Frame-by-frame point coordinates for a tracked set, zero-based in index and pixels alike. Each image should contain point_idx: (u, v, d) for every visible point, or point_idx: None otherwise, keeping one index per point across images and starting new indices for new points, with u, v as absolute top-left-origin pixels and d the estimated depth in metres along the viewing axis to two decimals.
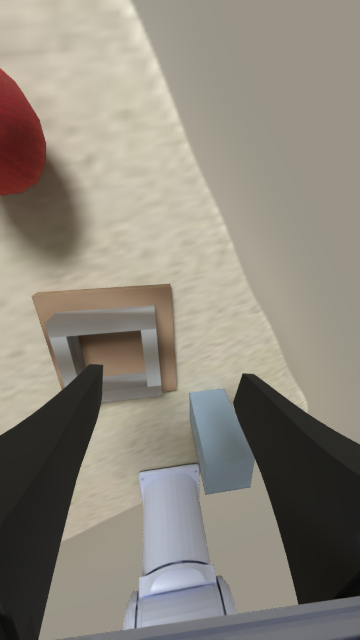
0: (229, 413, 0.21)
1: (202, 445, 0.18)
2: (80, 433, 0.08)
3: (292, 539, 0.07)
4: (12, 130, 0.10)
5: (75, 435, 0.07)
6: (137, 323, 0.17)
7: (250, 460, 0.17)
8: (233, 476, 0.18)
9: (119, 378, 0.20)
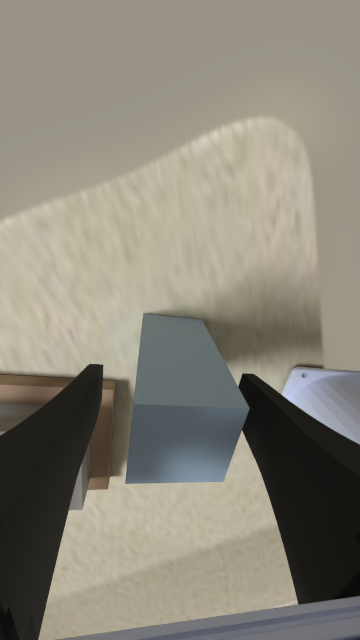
0: None
1: None
2: (80, 433, 0.08)
3: (292, 539, 0.07)
4: None
5: (75, 435, 0.07)
6: None
7: (142, 412, 0.07)
8: (187, 441, 0.08)
9: None
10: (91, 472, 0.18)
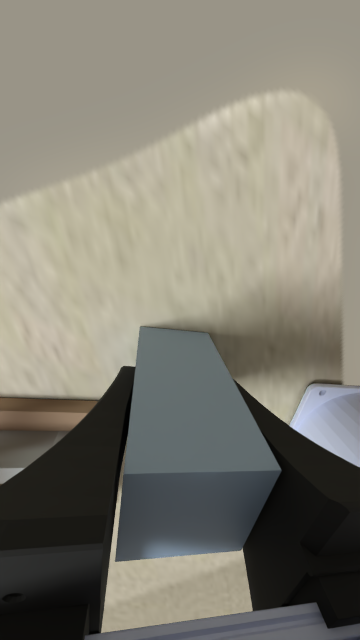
0: None
1: None
2: (124, 433, 0.08)
3: (249, 543, 0.07)
4: None
5: (123, 435, 0.07)
6: None
7: (135, 483, 0.05)
8: (197, 511, 0.06)
9: None
10: None
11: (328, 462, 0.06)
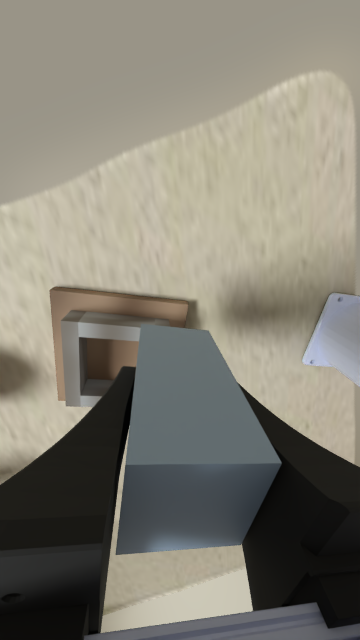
0: None
1: None
2: (124, 433, 0.08)
3: (250, 543, 0.07)
4: None
5: (122, 435, 0.07)
6: (70, 338, 0.16)
7: (137, 474, 0.05)
8: (198, 504, 0.06)
9: None
10: None
11: (328, 462, 0.06)
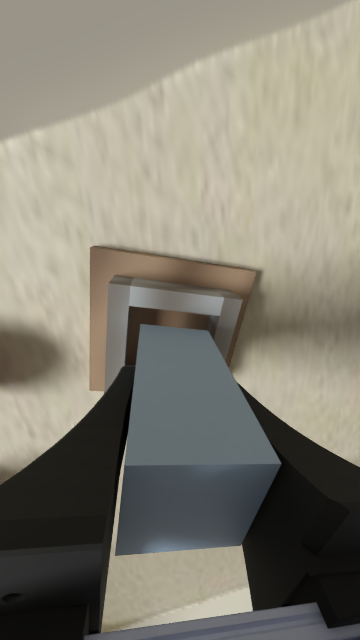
0: None
1: None
2: (124, 433, 0.08)
3: (250, 543, 0.07)
4: None
5: (123, 435, 0.07)
6: (118, 307, 0.13)
7: (136, 475, 0.05)
8: (197, 504, 0.06)
9: None
10: None
11: (328, 462, 0.06)
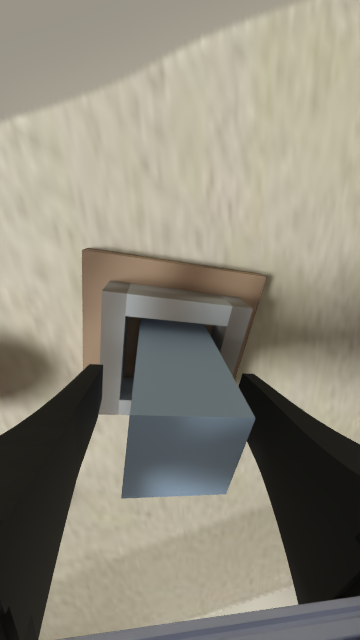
0: None
1: None
2: (80, 433, 0.08)
3: (292, 539, 0.07)
4: None
5: (75, 435, 0.07)
6: (113, 318, 0.11)
7: (139, 424, 0.07)
8: (188, 453, 0.07)
9: None
10: None
11: None
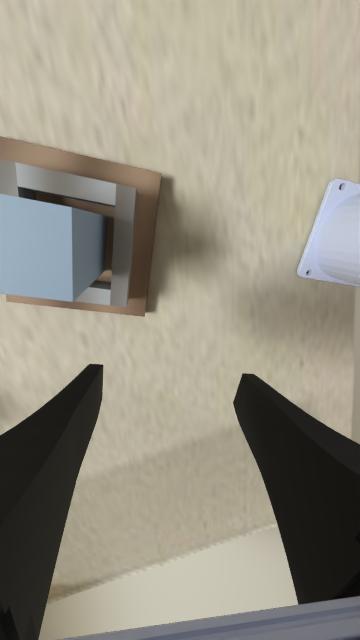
0: None
1: None
2: (80, 433, 0.08)
3: (292, 539, 0.07)
4: None
5: (75, 435, 0.07)
6: (6, 187, 0.13)
7: None
8: (21, 241, 0.09)
9: None
10: (131, 289, 0.18)
11: None
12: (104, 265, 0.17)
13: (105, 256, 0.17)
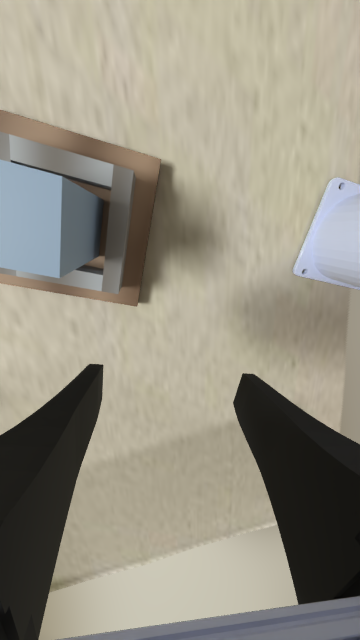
0: None
1: None
2: (80, 433, 0.08)
3: (292, 539, 0.07)
4: None
5: (75, 435, 0.07)
6: None
7: None
8: (7, 209, 0.09)
9: None
10: (124, 278, 0.18)
11: None
12: (98, 250, 0.16)
13: (99, 241, 0.17)
